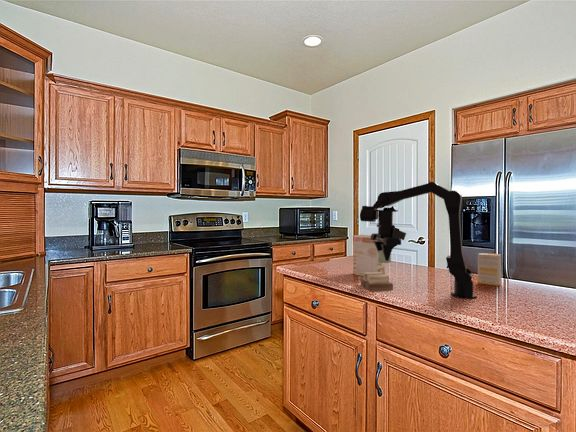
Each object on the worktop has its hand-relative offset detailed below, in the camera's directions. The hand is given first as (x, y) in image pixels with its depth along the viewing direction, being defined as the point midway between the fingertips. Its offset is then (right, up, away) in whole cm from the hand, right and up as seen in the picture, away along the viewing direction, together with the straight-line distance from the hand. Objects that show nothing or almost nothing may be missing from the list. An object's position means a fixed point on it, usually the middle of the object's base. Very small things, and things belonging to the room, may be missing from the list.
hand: (384, 259), depth 141 cm
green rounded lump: (0, -1, 0) cm, 1 cm away
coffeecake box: (-1, -11, +22) cm, 25 cm away
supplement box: (+46, -11, +4) cm, 48 cm away
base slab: (-3, -12, 0) cm, 13 cm away
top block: (-4, -9, -1) cm, 10 cm away
